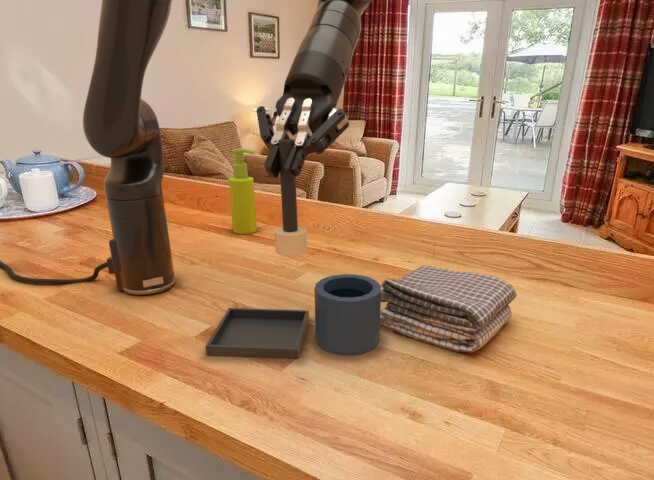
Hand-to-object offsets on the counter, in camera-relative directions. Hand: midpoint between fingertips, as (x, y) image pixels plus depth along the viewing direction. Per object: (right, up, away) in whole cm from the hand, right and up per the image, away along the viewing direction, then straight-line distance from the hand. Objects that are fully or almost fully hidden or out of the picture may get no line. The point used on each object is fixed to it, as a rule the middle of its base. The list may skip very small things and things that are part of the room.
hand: (280, 174), depth 62 cm
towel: (+24, -20, +17) cm, 36 cm away
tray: (-4, -22, +12) cm, 26 cm away
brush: (+1, -9, +6) cm, 11 cm away
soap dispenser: (-17, -1, +61) cm, 63 cm away
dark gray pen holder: (+9, -23, +11) cm, 27 cm away
